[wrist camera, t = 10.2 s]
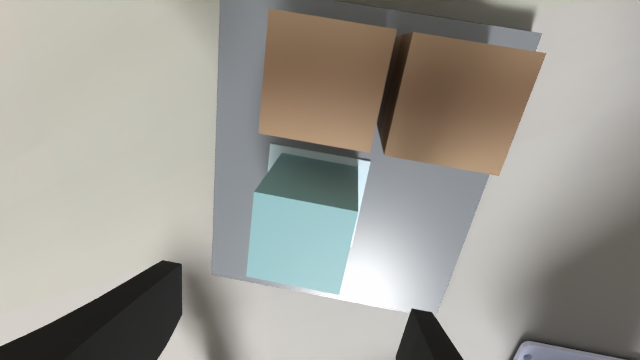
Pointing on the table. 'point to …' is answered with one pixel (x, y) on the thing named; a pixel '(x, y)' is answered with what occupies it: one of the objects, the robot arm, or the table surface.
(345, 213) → the teal block
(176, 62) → the table surface
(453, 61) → the walnut blocks
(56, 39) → the table surface
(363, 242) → the baseplate
